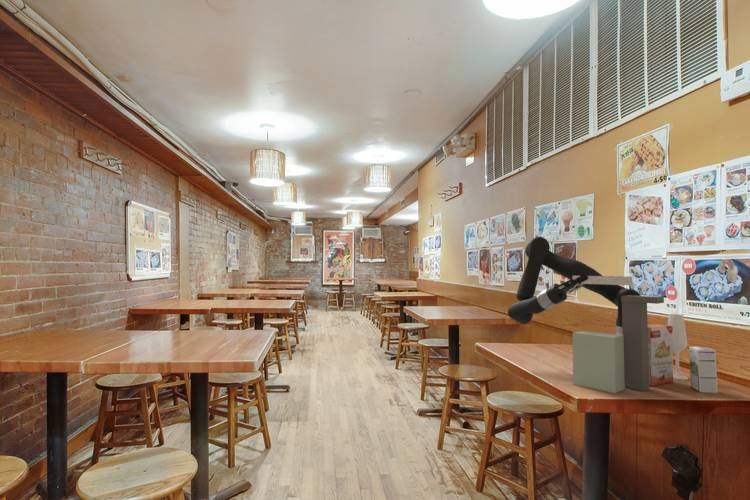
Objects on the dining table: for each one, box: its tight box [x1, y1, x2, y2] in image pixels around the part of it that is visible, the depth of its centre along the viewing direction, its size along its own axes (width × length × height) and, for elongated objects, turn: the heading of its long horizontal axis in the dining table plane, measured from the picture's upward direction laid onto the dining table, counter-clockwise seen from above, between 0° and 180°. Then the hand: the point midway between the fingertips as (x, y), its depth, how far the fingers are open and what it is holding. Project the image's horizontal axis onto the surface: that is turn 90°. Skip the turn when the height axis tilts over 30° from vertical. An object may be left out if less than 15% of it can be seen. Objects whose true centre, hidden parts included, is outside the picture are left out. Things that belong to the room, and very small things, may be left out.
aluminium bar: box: [573, 275, 633, 286], centre depth 158 cm, size 20×3×3 cm, turn 40°
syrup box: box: [688, 346, 719, 394], centre depth 145 cm, size 6×6×14 cm
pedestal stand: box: [621, 295, 665, 392], centre depth 146 cm, size 11×7×32 cm, turn 40°
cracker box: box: [648, 323, 674, 387], centre depth 155 cm, size 14×6×21 cm, turn 117°
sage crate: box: [572, 330, 626, 394], centre depth 149 cm, size 14×8×18 cm, turn 40°
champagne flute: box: [667, 313, 689, 381], centre depth 163 cm, size 7×7×24 cm
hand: (588, 276), depth 161 cm, fingers closed on aluminium bar, 3 cm apart
